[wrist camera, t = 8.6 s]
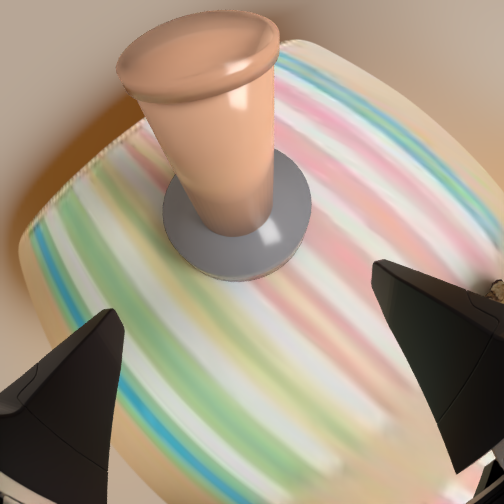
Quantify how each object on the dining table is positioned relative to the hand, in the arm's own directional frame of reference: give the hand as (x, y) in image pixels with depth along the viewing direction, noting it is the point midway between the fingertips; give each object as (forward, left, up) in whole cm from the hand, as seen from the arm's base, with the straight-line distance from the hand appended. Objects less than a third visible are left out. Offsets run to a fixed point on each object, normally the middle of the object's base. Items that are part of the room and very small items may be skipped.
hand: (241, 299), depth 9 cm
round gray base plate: (+5, +7, -11) cm, 14 cm away
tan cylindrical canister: (+5, +7, -9) cm, 12 cm away
